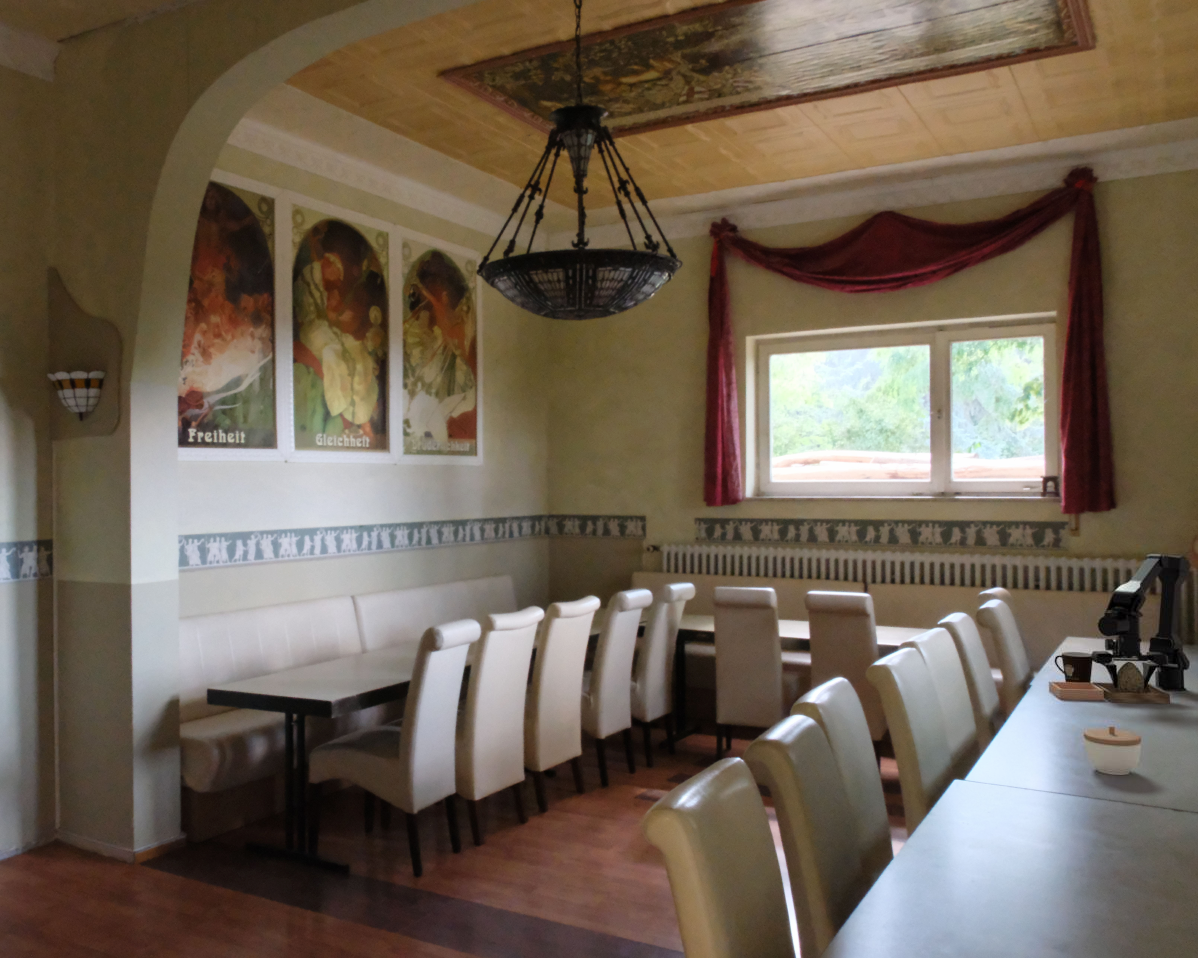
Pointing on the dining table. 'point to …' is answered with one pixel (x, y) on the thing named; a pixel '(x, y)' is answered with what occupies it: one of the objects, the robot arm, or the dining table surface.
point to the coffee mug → (1076, 666)
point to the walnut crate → (1134, 694)
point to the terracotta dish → (1076, 690)
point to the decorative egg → (1130, 679)
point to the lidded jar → (1112, 750)
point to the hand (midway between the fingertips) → (1130, 687)
